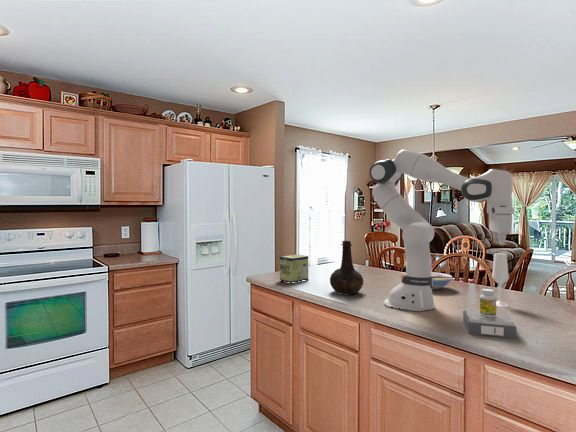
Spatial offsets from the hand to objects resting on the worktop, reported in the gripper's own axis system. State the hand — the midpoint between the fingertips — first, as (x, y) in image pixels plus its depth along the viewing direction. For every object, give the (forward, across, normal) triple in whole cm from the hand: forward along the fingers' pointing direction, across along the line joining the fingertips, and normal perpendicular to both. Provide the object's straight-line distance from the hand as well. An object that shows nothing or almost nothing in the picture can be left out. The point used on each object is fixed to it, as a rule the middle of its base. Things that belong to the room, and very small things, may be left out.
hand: (498, 243), depth 144 cm
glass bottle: (+31, -27, -66) cm, 78 cm away
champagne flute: (+31, -26, +6) cm, 41 cm away
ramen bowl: (+31, -52, -23) cm, 65 cm away
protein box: (+31, -47, -102) cm, 117 cm away
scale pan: (+27, +13, -6) cm, 31 cm away
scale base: (+31, +13, -6) cm, 34 cm away
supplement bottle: (+26, +13, -6) cm, 30 cm away
